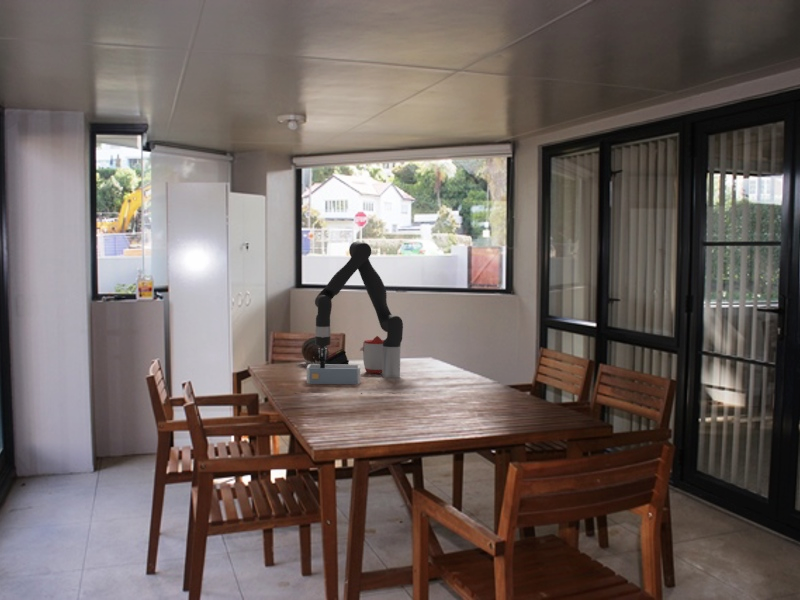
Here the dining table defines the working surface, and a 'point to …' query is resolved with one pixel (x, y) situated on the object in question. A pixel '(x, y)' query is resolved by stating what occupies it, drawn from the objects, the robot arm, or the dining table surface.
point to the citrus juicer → (373, 355)
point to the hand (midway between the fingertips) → (322, 370)
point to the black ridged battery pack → (337, 358)
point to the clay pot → (311, 351)
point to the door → (333, 375)
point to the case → (333, 367)
